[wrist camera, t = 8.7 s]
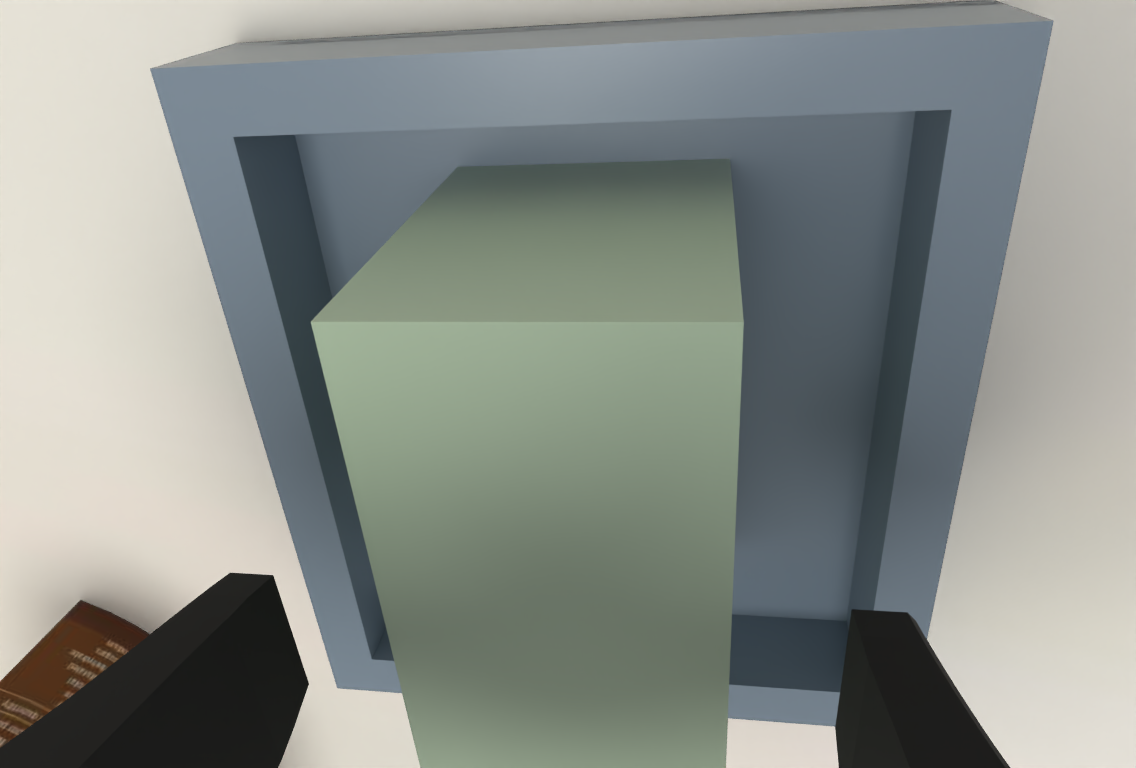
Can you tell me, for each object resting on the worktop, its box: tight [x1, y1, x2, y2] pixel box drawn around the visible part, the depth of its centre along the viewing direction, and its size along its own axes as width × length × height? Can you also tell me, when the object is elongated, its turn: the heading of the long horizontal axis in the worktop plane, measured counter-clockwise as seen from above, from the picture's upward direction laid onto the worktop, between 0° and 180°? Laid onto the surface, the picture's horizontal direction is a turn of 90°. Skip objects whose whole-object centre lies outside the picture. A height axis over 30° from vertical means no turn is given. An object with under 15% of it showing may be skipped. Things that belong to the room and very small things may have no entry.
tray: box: [150, 0, 1053, 726], centre depth 15 cm, size 12×13×2 cm
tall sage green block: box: [311, 159, 744, 768], centre depth 13 cm, size 4×8×6 cm, turn 4°
